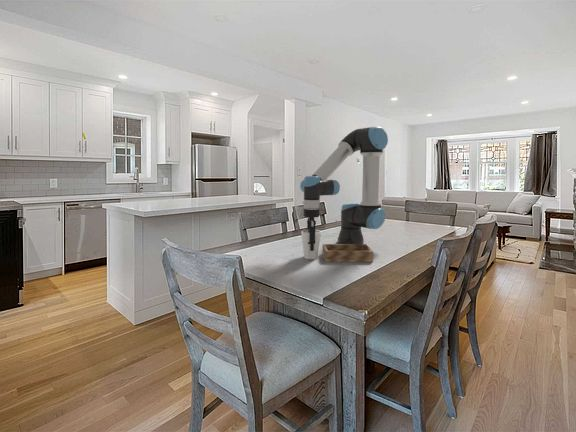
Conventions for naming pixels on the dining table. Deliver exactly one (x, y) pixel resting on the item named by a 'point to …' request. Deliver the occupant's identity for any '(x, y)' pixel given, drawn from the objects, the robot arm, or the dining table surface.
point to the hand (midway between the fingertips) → (310, 254)
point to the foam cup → (306, 246)
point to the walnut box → (347, 253)
